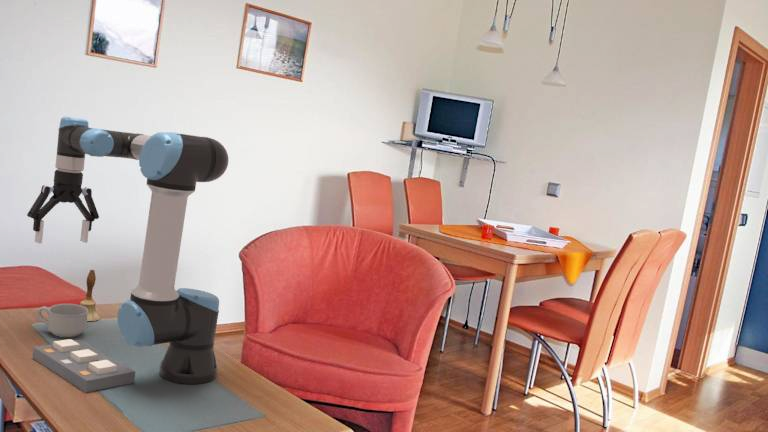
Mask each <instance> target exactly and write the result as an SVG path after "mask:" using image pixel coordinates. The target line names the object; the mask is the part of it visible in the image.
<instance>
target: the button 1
mask: <svg viewBox="0 0 768 432" xmlns="http://www.w3.org/2000/svg"><path fill="white" fill-rule="evenodd" d="M75 341H76V340H73V339H71V338H68V339H67V338H66V339H62V340H54V341H53V342H52V344H53V348H54V349H55V350H57V351H59V352H60V353H66V352H72V351H78V350H79V349H80V344H79V343H77V342H75Z"/></svg>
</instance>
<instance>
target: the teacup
mask: <svg viewBox="0 0 768 432" xmlns="http://www.w3.org/2000/svg"><path fill="white" fill-rule="evenodd" d="M42 311H45V312H46V314H47V319H46V318H45V317H44V316H43V315H42ZM87 313H88V309H87V308H86V307H84V306H81V305H80V304H77V303H58V304H54V305H50V306H49V307H48V306H45V305H43V306H41V307H39V308H38V309H37V312H36V316H37V318H38V319H39V320H40V321H41V322H42V323H44V325H46V327H47V329H48V331H49V332H50V333H51V334H53V336H55V335H56V336H55V337H57V336H59V337H58V338H62V337H71V338H74V336H75V337H77V336H79V335H80V334H81V333H83V332H84V330H85V329H86V327H87V323H88V322H87Z"/></svg>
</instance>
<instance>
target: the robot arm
mask: <svg viewBox="0 0 768 432" xmlns="http://www.w3.org/2000/svg"><path fill="white" fill-rule="evenodd" d="M57 135H58V136H57V148H56V157H55V165H54V166H55V168H56V170H54V175H53V185H52V186H49V185H48V186H47V185H42V186H41V190H40V193H39V194H38V196H37V198H36V199H35V201H34V202H33V204H32V206H31V208H30V209H29V210H28V212H27V214H26V216H27V217H28V218H31V219H33V225H32V227H33V228H32V230H33V231H34V232H35V235H34V243H37V244H43V234H44V226H45V221H44V220H43V219H44V217H45V216H46V215H48V213H50V212H51V210H53V209H54V207H55V206H56V205H58V204H60V203H70V204H71V203H72V204H75V206H76V208H77V209H78V210H79V212H80V213H81V215H82V216H83V217H84V219H82V220H81V230H80V231H81V232H80V241H81V242H82V243H85V244H86V243H88V239H89V232H91V230H92V226H93V222H95V220H98V219H99V218H100V215H99V213H98V210H97V207H96V204H95V202H94V199H93V197H92V195H93V194H92V192H93V191H92V188H89V187H87V186H86V187H84V188H82V185H83V176H84V174H83V171H84V169H85V158H86V155H88V156H91V157H96V158H97V157H111V158H123V159H132V160H136V161H138V163H139V164H138V165H139V167H140V169H139V170H140V172H141V174H142V176H143V177H144V178H146V179H147V180H146V185H147V187H148V188H149V189H150V191H151V197H150V204H149V210H148V211H149V212H148V218H147V224H146V225H147V226H146V231H145V239H144V244H143V253H142V259H141V267H140V274H139V280H138V285H136V286H135V287H134V288H132V289H131V290H130V291H131V292H130V296H129V297H130V299H129V300H126V301H123V302H122V303H121V305H119V308H118V310H117V325H118V329H119V332H120V334H121V336H122V338H123V339H124V340H125V342H126V343H127V344H128V345H130V346H132V347H135V348H139V347H152V346H157V345H160V344H161V345H162V344H168V343H169V345H168V347H167V349H166V351H165V354H164V356H163V359H162V360H161V361H160V364H159V371H158V373H159V376H160V377H162V378H163V379H165V380H167V381H170V382H172V383H178V384H183V385H184V384H186V385H198V384H205V383H209V382H211V381H213V380H214V379H216V378H217V374H218V373H217V372H218V365H217V361H216V354H215V349H214V347H215V346H214V345H215V340H216V339H215V338H216V332H217V324H218V319H219V318H218V317H219V313H220V308H219V307H220V299H219V297H218V296H216V295H215V294H213V293H211V292H208V291H205V290H199V289H194V288H188V287H187V288H185V287H184V288H183V287H182V288H178V289H177V290H176V289H175V284H176V283H175V282H176V278H177V271H178V263H179V259H180V251H181V246H182V245H181V244H182V237H183V232H184V223H185V217H186V211H187V205H188V200H189V199H188V198H189V196H190V195H192V194H194V193H195V191H196V189H197V188H196V186H197V183H209V182H213V181H216V180H218V179H219V178H221V177H222V176H223V175H224V173H225V172H226V170H227V169H228V165H229V155H228V151H227V150H226V148H225V146H224V145H223V144H222V143H221V142H219V141H218V140H216V139H214V138H211V137H208V136H199V135H191V134H185V133H178V132H172V131H171V132H165V131H164V132H163V131H160V132H155V133H154V134H152V135H146V134H143V133H133V132H125V131H118V130H117V131H116V130H109V129H108V130H107V129H102V128H101V129H100V128H94V127H93V128H92V127H89V121H88V120H87V119H83V118H80V117H78V118H77V117H70V116H63V117H61V118H60V123H59V127H58V134H57ZM51 193H53V195H52V196H51V197H49V195H51ZM81 194H82V196H83V199H84V200H85V204H86V205H84V203H83V200H81V198H80V196H81ZM48 197H49V200H48V201H47V202H46V200H47V199H48ZM45 202H46V203H45ZM86 206H87V207H86Z"/></svg>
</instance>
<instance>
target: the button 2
mask: <svg viewBox="0 0 768 432" xmlns="http://www.w3.org/2000/svg"><path fill="white" fill-rule="evenodd" d="M116 369H117V365H115V364H113V363H112V362H110V361H108V360H101V361H95V362H90V363H89V366H88V370H90V371H91V372H93V373H95V374H96V375H103V374H109V373H114V372H116Z"/></svg>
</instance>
